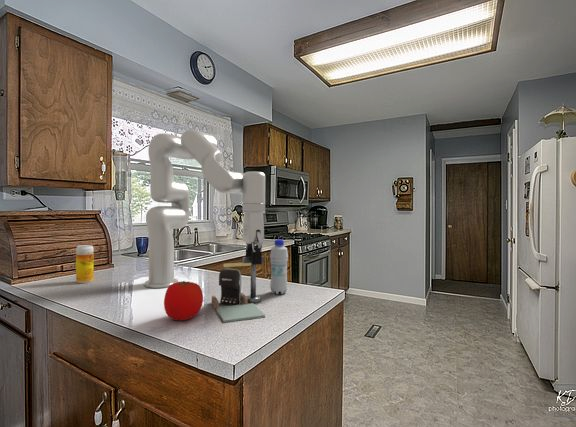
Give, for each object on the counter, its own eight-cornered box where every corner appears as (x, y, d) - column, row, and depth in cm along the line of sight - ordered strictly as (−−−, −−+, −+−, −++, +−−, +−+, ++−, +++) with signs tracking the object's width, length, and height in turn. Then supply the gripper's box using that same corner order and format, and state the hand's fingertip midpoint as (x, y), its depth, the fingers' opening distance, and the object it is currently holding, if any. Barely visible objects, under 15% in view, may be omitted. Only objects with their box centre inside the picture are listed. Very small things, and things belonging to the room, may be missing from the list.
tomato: (169, 312, 95) (169, 276, 95) (205, 311, 96) (205, 276, 95) (158, 325, 84) (158, 285, 84) (198, 325, 85) (198, 285, 85)
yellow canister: (87, 283, 127) (87, 246, 127) (72, 283, 127) (72, 246, 127) (96, 280, 133) (96, 244, 133) (82, 280, 133) (82, 244, 133)
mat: (215, 309, 98) (215, 307, 98) (253, 304, 103) (253, 303, 103) (223, 322, 87) (223, 320, 87) (265, 317, 92) (265, 315, 92)
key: (223, 299, 103) (223, 258, 103) (262, 295, 108) (262, 256, 108) (224, 300, 101) (224, 258, 101) (263, 296, 107) (264, 256, 106)
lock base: (243, 300, 108) (243, 295, 108) (257, 298, 109) (257, 294, 109) (247, 304, 103) (247, 300, 103) (262, 302, 105) (262, 298, 105)
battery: (217, 304, 103) (217, 269, 102) (223, 301, 106) (223, 267, 106) (235, 307, 100) (236, 271, 100) (241, 303, 104) (242, 269, 103)
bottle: (285, 295, 113) (286, 240, 113) (267, 294, 115) (268, 239, 114) (289, 291, 120) (290, 238, 119) (272, 289, 121) (272, 238, 121)
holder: (211, 302, 104) (211, 295, 104) (242, 299, 108) (242, 292, 108) (215, 309, 98) (215, 301, 98) (247, 305, 102) (247, 298, 102)
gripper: (236, 208, 112) (236, 258, 112) (250, 209, 96) (249, 267, 96) (256, 208, 115) (256, 257, 115) (273, 209, 99) (272, 266, 99)
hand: (253, 261), depth 106 cm, fingers open, 6 cm apart
